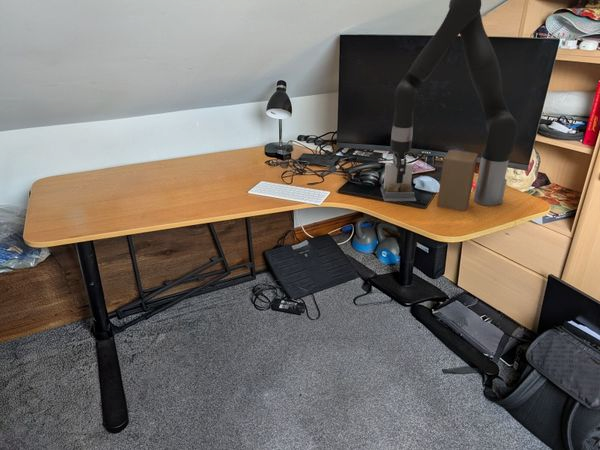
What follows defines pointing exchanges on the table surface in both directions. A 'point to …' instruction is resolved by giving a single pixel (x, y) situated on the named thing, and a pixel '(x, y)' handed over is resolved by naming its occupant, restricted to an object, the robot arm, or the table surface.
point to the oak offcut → (392, 188)
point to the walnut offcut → (405, 188)
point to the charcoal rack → (397, 195)
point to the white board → (392, 174)
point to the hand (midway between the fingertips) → (397, 178)
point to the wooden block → (457, 180)
